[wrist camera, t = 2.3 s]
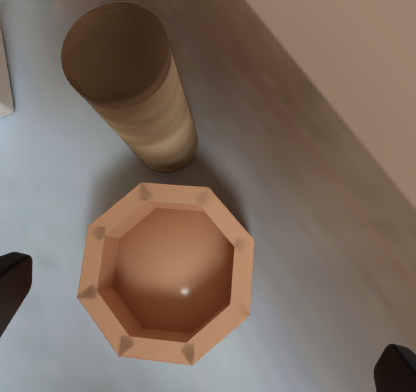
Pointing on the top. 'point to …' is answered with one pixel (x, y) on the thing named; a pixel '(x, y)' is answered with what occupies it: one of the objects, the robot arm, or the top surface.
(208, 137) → the top surface
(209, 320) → the octagonal ashtray
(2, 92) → the medicine bottle
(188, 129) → the oak dowel
